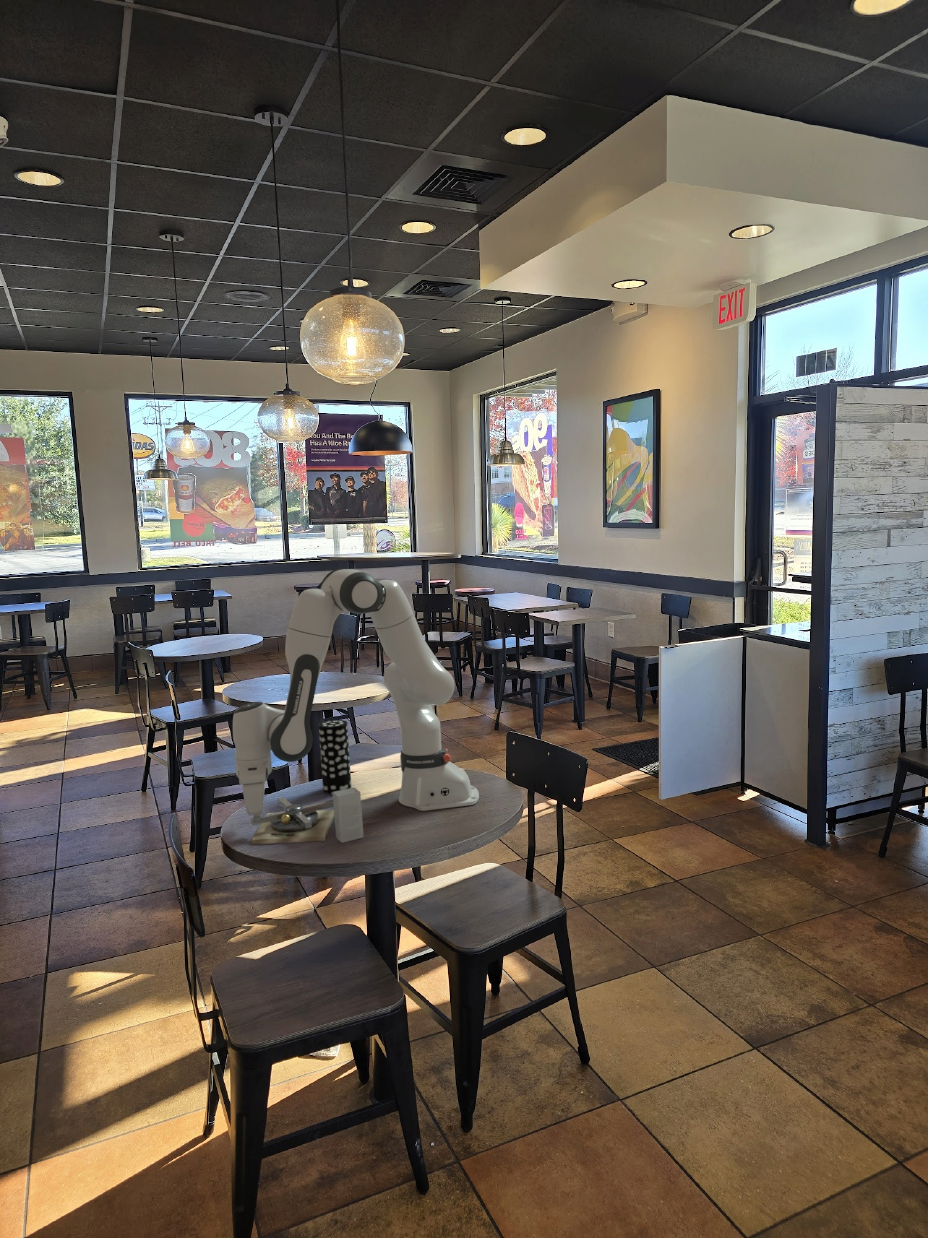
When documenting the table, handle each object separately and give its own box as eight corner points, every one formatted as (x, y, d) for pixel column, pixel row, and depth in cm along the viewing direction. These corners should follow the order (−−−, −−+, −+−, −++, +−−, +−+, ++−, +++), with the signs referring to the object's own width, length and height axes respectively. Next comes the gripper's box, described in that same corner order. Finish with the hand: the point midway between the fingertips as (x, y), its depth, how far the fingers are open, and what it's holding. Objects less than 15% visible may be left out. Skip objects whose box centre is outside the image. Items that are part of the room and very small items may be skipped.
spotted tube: (354, 784, 239) (350, 719, 237) (347, 794, 231) (343, 727, 228) (327, 785, 240) (322, 720, 237) (319, 794, 232) (315, 727, 229)
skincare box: (358, 832, 202) (355, 786, 201) (363, 838, 198) (361, 791, 197) (335, 837, 199) (332, 791, 198) (340, 843, 196) (337, 796, 194)
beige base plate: (334, 814, 216) (334, 809, 215) (324, 840, 198) (324, 835, 198) (268, 817, 215) (267, 812, 215) (251, 844, 197) (251, 838, 197)
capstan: (280, 809, 216) (279, 794, 216) (337, 812, 212) (336, 797, 212) (249, 833, 200) (248, 817, 200) (310, 837, 196) (309, 821, 196)
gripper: (243, 756, 211) (247, 806, 213) (238, 780, 191) (242, 835, 193) (267, 753, 212) (271, 803, 214) (265, 777, 193) (269, 832, 194)
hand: (257, 819), depth 203 cm, fingers closed
